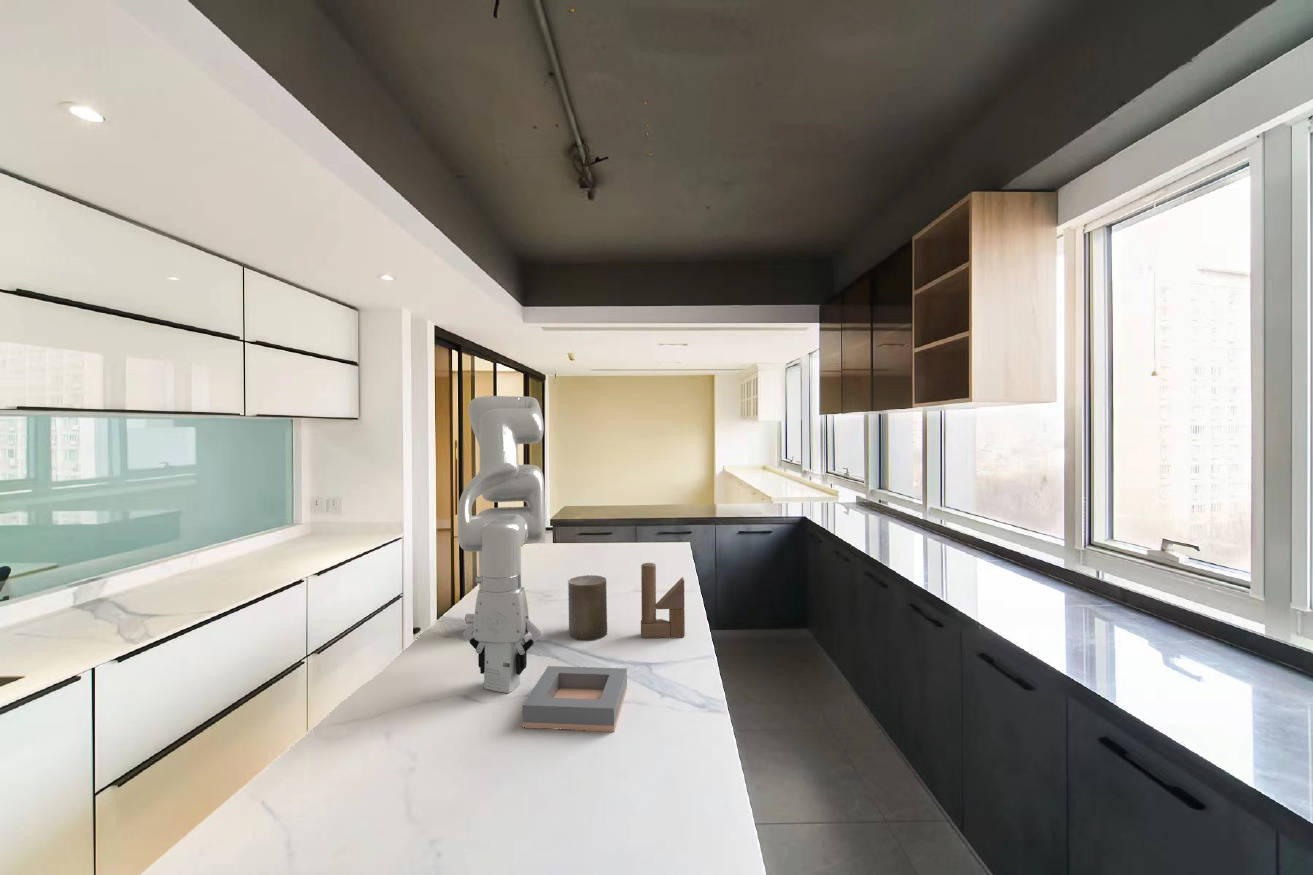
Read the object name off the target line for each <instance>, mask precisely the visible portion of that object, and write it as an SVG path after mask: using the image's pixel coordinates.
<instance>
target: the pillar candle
mask: <svg viewBox="0 0 1313 875" xmlns="http://www.w3.org/2000/svg"><path fill="white" fill-rule="evenodd" d="M567 585H568V588H567V589H568V591H567V592H568V599H567V600H568V635H569V638H572V639H574V640H579V641H594V640H598V639H601V638H603V637H605V636H606V635H608V611H607V610H608V607H607V606H608V605H607V604H608V603H607V602H608V601H607V600H608V599H607V578H606V577H605V576H601V575H594V574H593V575H592V574H590V575H589V574H587V575H579V576H575V577H572V578H570V579H569V580H568V581H567Z"/></svg>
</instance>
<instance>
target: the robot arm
mask: <svg viewBox="0 0 1313 875" xmlns="http://www.w3.org/2000/svg"><path fill="white" fill-rule="evenodd" d="M467 408H468V418H469V423H470V426H471V429H472V431H473V433H474V436H475V438H476V440H477V444H478V449H479V470H478V472H477V473H476V475H475V476H474V477H473V478H472V479H471V480H470V481H469V482H468V483H467V485H466V486H465V488H464V490H463V491H462V493H461V495H460V498H459V502H458V508H457V542H458V544H459V546H460V548H461V549H462V550H463V551H465V552H469V553H472V552H478V573H479V574H478V575H477V576H476V577H475V583H476V584H478V589H479V590H478V591H477V594H476V600H475V607H474V613H465V615H464V621H465V624H467V625H469V624H470V625H469V626H468V627H467V628H466V629H465V630H463V632H462V634H463V637H465V638H466V640H467V641H469V644H470V645H471V646H472V648H474V650H475V652H476V654H477V655H478V656H477V657H478V668H480V669H479V670H480V671H479V672H480V674H483V675H484V663H485V643H514V644H515V646H516V648H517V650H518V654H517V655H516V674H517V675H520V676H521V674H522V673H523V671H524V670H525V669H526V668H527V663H528V662H527V661H528V658H527V651H528V650H530V648H532V646H534V644H535V643H536V642H537V640H538V639H540V637H541V636H542V635H543V632H542V631H541V630H540V629H539V628H538V627H537V626H536V625H535V624H534V623H532V622H531V620H530V618H529V617H530V616H529V607H528V599H527V594H526V591H525V587H523V586H522V553H521V552H522V551H521V550H522V547H523V546H524V545H525V544H535V543H536V544H537V543H540V542H542V541H543V539H544V537H546V529H547V528H546V527H547V526H546V524H547V523H546V499H545V498H546V497H545V496H546V494H545V479H544V478H545V477H544V473H543V471H542V469H541V467H539V466H538V465H535V464H519V452H518V451H519V446H518V445H527V444H528V445H531V444H532V445H536V444H538V443H540V442H541V441H542V439H543V436H544V430H545V429H544V418H543V413H542V409H541V406H540V403H539V401H538V399H537V398H535V397H534V396H524V395H522V396H518V395H517V396H516V395H515V396H509V395H508V396H506V395H486V396H485V395H484V396H479V397H478V396H477V397H474V398H472V400H470V401H469V404H468V407H467ZM480 496H481V497H482V498H483V499H484V500H485V501H487V502H490V503H491V502H492V503H511V502H512V503H513V502H525V503H526V505H527V506H503V507H490V508H486V509H483V510H481V511H480V512H479V513H478V514H476V515H472V508H473V505H474V503H475V501H476V500H477V498H479V497H480ZM528 633H529V634H530V635H531V637H530V638H528V640H526V638H525V636H526V635H528Z"/></svg>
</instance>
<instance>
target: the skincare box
mask: <svg viewBox="0 0 1313 875" xmlns="http://www.w3.org/2000/svg"><path fill="white" fill-rule="evenodd" d="M517 654H518V650H517V648H516V646H515V644H514V643H485V663H484V674H483V675H484V676H483V677H484V678H483V679H484V680H483V688H484V689H485V690H489V691H495V692H499V693H500V692H501V693H506V694H508V693H510V692H512V691H514V690H515V689H516V688H517V687H518V686H519V685H520V684H521V674H520V675H517V674H516V655H517Z"/></svg>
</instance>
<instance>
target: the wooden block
mask: <svg viewBox="0 0 1313 875" xmlns="http://www.w3.org/2000/svg"><path fill="white" fill-rule="evenodd" d="M656 566H657V565H656V563H654V562H643V563H642V564H641V567H640V569H641V574H640V575H641V578H640V580H641V583H640V584H641V585H640V586H641V619H640V637H641V639H658V638H659V639H660V638H661V639H663V638H671V637H672V638H673V637H675V638H685V636H686V634H685V633H686V632H685V631H686V630H685V629H686V628H685V626H686V625H685V624H686V623H685V622H686V621H685V620H686V618H685V616H686V615H685V579H684V577H683V576H682V577H681V578H680V579H679V580H678V581H676V583H675V584H674V585H673V586H672V587H671V588H670V589H669V590H668V591H667V592H666V593H665V594H664V595H663V597H661V598H660V599H659V600H658V602H657V578H656V577H657V574H656V573H657V569H656V568H657V567H656ZM657 610H668V616H669V617H668V618H669V619H668V620H666V619H663V618H658V619H657ZM672 638H671V639H672Z"/></svg>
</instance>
